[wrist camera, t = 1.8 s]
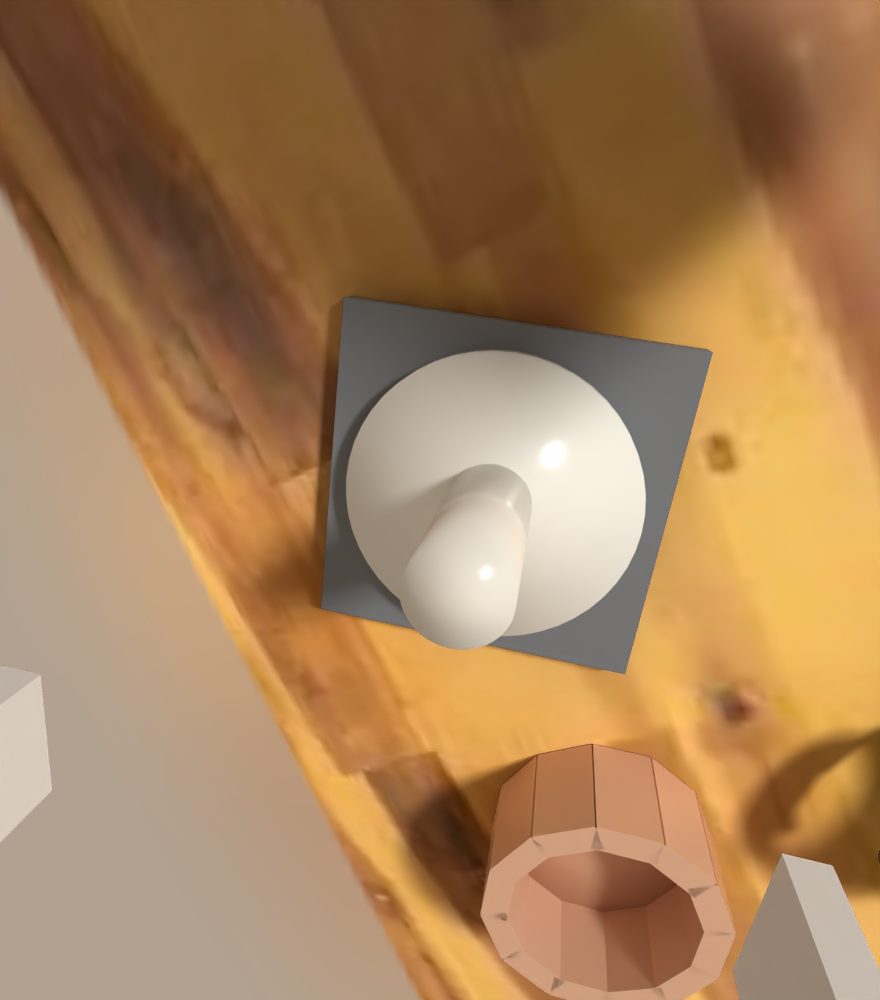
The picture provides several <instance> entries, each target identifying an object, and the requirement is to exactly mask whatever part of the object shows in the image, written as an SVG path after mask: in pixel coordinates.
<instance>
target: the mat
mask: <svg viewBox="0 0 880 1000" xmlns="http://www.w3.org/2000/svg"><path fill="white" fill-rule="evenodd" d="M483 349H504V350H515V351H520V352H525V353H529V354H534V355H538V356H540V357H543V358H546V359H549V360H551V361H554V362H557V363H558V364H560V365H562V366H564V367H566V368H568V369H570V370H572V371H573V372H575V373H577V374H578V375H579V376H581V377H582V378H583V379H585V380H586V381H588V382H589V383H590V384H592V385H593V386H594V387H595V388H596V389H597V390H598V391H599V392H600V393H601V394H602V395H603V396H604V397H605V398H606V399H607V400H608V401H609V402H610V404H611V405H612V406H613V407H614V409H615V410H616V411H617V412H618V414H619V415H620V417H621V419H622V420H623V422H624V424H625V425H626V427H627V429H628V431H629V433H630V435H631V438H632V440H633V442H634V445H635V447H636V450H637V452H638V455H639V459H640V463H641V467H642V470H643V474H644V482H645V492H646V505H645V518H644V523H643V529H642V534H641V537H640V540H639V543H638V546H637V548H636V551H635V553H634V555H633V557H632V559H631V561H630V563H629V565H628V567H627V569H626V570H625V572H624V573H623V575H622V576H621V577H620V579H619V580H618V582H617V583H616V584H615V585H614V586H613V587H612V589H611V590H610V591H609V592H608V593H607V594H606V595H605V596H604V597H603V598H602V599H601V600H599V601H598V602H597V603H596V604H595V605H593V606H592V607H591V608H590V609H588V610H587V611H585V612H583V613H582V614H580V615H579V616H577V617H575V618H574V619H572V620H569V621H567V622H565V623H563V624H561V625H559V626H556V627H553V628H550V629H547V630H544V631H541V632H535V633H530V634H525V635H516V636H500V637H499V638H498V639H496V640H495V641H493V642H491V643H489V644H487V645H492V646H496V647H501V648H506V649H510V650H515V651H519V652H524V653H529V654H533V655H538V656H543V657H547V658H552V659H557V660H561V661H566V662H570V663H575V664H580V665H584V666H589V667H594V668H598V669H603V670H607V671H612V672H617V673H621V674H625V672H626V668H627V665H628V661H629V657H630V654H631V650H632V646H633V643H634V639H635V635H636V632H637V628H638V624H639V621H640V617H641V613H642V610H643V606H644V602H645V599H646V595H647V591H648V588H649V584H650V580H651V577H652V573H653V569H654V566H655V562H656V558H657V555H658V551H659V547H660V544H661V540H662V536H663V533H664V529H665V525H666V522H667V518H668V514H669V511H670V507H671V503H672V500H673V496H674V492H675V489H676V485H677V481H678V478H679V474H680V470H681V467H682V463H683V459H684V456H685V452H686V448H687V445H688V441H689V437H690V434H691V430H692V426H693V423H694V419H695V415H696V412H697V408H698V404H699V401H700V397H701V393H702V390H703V386H704V382H705V379H706V375H707V371H708V368H709V364H710V360H711V357H712V353H713V352H711V351H709V350H708V349H702V348H695V347H688V346H682V345H675V344H668V343H661V342H655V341H648V340H641V339H635V338H628V337H621V336H614V335H608V334H601V333H594V332H588V331H581V330H574V329H567V328H561V327H554V326H547V325H541V324H534V323H527V322H521V321H514V320H507V319H500V318H494V317H487V316H480V315H474V314H467V313H460V312H453V311H447V310H440V309H433V308H427V307H420V306H413V305H406V304H400V303H393V302H386V301H380V300H373V299H366V298H359V297H353V296H350V297H343V311H342V325H341V339H340V353H339V367H338V381H337V395H336V408H335V422H334V436H333V450H332V464H331V478H330V492H329V506H328V520H327V534H326V547H325V561H324V575H323V589H322V603H321V609H325V610H330V611H334V612H339V613H344V614H348V615H353V616H358V617H362V618H367V619H371V620H376V621H381V622H385V623H390V624H395V625H399V626H404V627H408V628H413V629H415V628H414V627H413V626H412V625H411V624H410V622H409V621H408V619H407V617H406V616H405V614H404V611H403V609H402V606H401V602H400V599H399V598H397V597H396V596H395V595H394V594H393V593H392V592H391V591H390V590H389V589H388V588H387V587H386V586H385V585H384V584H383V583H382V582H381V581H380V579H379V578H378V577H377V576H376V574H375V573H374V571H373V570H372V569H371V567H370V566H369V564H368V563H367V561H366V559H365V558H364V556H363V554H362V552H361V550H360V548H359V546H358V544H357V541H356V538H355V536H354V533H353V531H352V527H351V523H350V519H349V515H348V508H347V500H346V476H347V469H348V463H349V458H350V455H351V451H352V448H353V444H354V441H355V439H356V437H357V435H358V433H359V430H360V428H361V426H362V424H363V423H364V421H365V420H366V418H367V416H368V415H369V413H370V412H371V410H372V409H373V408H374V406H375V405H376V404H377V403H378V402H379V401H380V399H381V398H382V397H383V396H384V395H385V394H386V393H387V392H388V391H389V390H390V389H392V388H393V387H394V386H395V385H396V384H397V383H398V382H400V381H401V380H403V379H404V378H406V377H407V376H409V375H410V374H412V373H413V372H415V371H416V370H418V369H419V368H421V367H423V366H425V365H427V364H429V363H431V362H434V361H436V360H438V359H441V358H444V357H447V356H450V355H453V354H456V353H461V352H467V351H472V350H483Z"/></svg>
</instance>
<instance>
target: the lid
mask: <svg viewBox="0 0 880 1000" xmlns="http://www.w3.org/2000/svg"><path fill="white" fill-rule="evenodd" d="M346 500H347V508H348V515H349V519H350V523H351V527H352V531H353V533H354V536H355V538H356V541H357V544H358V546H359V548H360V550H361V552H362V554H363V556H364V558H365V559H366V561H367V563H368V564H369V566H370V567H371V569H372V570H373V571H374V573H375V574H376V576H377V577H378V578H379V579H380V581H381V582H382V583H383V584H384V585H385V586H386V587H387V588H388V589H389V590H390V591H391V592H392V593H393V594H394V595H395V596H396V597H397V598H399V599H400V602H401V606H402V609H403V611H404V614H405V616H406V617H407V619H408V621H409V622H410V624H411V625H412V626H413V627H414V628H415V629H416V630H417V631H418V632H419V633H420V634H421V635H422V636H424V637H425V638H427V639H428V640H430V641H432V642H434V643H436V644H438V645H441V646H444V647H447V648H452V649H463V650H464V649H474V648H479V647H482V646H485V645H487V644H489V643H491V642H493V641H495V640H496V639H498V638H499V637H500V636H516V635H525V634H530V633H535V632H541V631H544V630H547V629H550V628H553V627H556V626H559V625H561V624H563V623H565V622H567V621H569V620H572V619H574V618H575V617H577V616H579V615H580V614H582V613H583V612H585V611H587V610H588V609H590V608H591V607H592V606H593V605H595V604H596V603H597V602H598V601H599V600H601V599H602V598H603V597H604V596H605V595H606V594H607V593H608V592H609V591H610V590H611V589H612V587H613V586H614V585H615V584H616V583H617V582H618V580H619V579H620V577H621V576H622V575H623V573H624V572H625V570H626V569H627V567H628V565H629V563H630V561H631V559H632V557H633V555H634V553H635V551H636V548H637V546H638V543H639V540H640V537H641V534H642V529H643V523H644V518H645V505H646V492H645V482H644V474H643V470H642V467H641V463H640V459H639V455H638V452H637V450H636V447H635V445H634V442H633V440H632V438H631V435H630V433H629V431H628V429H627V427H626V425H625V424H624V422H623V420H622V419H621V417H620V415H619V414H618V412H617V411H616V410H615V409H614V407H613V406H612V405H611V404H610V402H609V401H608V400H607V399H606V398H605V397H604V396H603V395H602V394H601V393H600V392H599V391H598V390H597V389H596V388H595V387H594V386H593V385H592V384H590V383H589V382H588V381H586V380H585V379H583V378H582V377H581V376H579V375H578V374H577V373H575V372H573V371H572V370H570V369H568V368H566V367H564V366H562V365H560V364H558V363H557V362H554V361H551V360H549V359H546V358H543V357H540V356H538V355H534V354H529V353H525V352H520V351H515V350H504V349H483V350H472V351H467V352H461V353H456V354H453V355H450V356H447V357H444V358H441V359H438V360H436V361H434V362H431V363H429V364H427V365H425V366H423V367H421V368H419V369H418V370H416V371H415V372H413V373H412V374H410V375H409V376H407V377H406V378H404V379H403V380H401V381H400V382H398V383H397V384H396V385H395V386H394V387H393V388H392V389H390V390H389V391H388V392H387V393H386V394H385V395H384V396H383V397H382V398H381V399H380V401H379V402H378V403H377V404H376V405H375V406H374V408H373V409H372V410H371V412H370V413H369V415H368V416H367V418H366V420H365V421H364V423H363V424H362V426H361V428H360V430H359V433H358V435H357V437H356V439H355V441H354V444H353V448H352V451H351V455H350V458H349V463H348V469H347V476H346Z"/></svg>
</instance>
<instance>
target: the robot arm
mask: <svg viewBox="0 0 880 1000" xmlns="http://www.w3.org/2000/svg"><path fill="white" fill-rule="evenodd" d="M51 791H52V784H51V774H50V764H49V755H48V744H47V734H46V725H45V715H44V705H43V696H42V686H41V675H40V674H35V673H31V672H27V671H23V670H19V669H15V668H11V667H6V666H2V667H1V668H0V842H1V841H2V840H3V839H4V838H5V837H6V836H7V835H8V834H9V833H10V832H11V831H12V830H13V829H14V828H15V827H16V826H17V825H18V824H19V823H20V822H21V821H22V820H23V819H24V818H25V817H26V816H27V815H28V814H29V813H30V812H31V811H32V810H33V809H34V808H35V807H36V806H37V805H38V804H39V803H40V802H41V801H42V800H43V799H44V798H45V797H46V796H47V795H48V794H49V793H50V792H51ZM733 975H734V979H735V983H736V987H737V992H738V996H739V1000H880V970H879V968H878V966H877V963H876V961H875V959H874V957H873V954H872V952H871V950H870V948H869V946H868V943H867V941H866V939H865V937H864V934H863V932H862V930H861V928H860V925H859V923H858V921H857V919H856V917H855V914H854V912H853V910H852V908H851V905H850V903H849V901H848V899H847V896H846V894H845V892H844V890H843V888H842V885H841V883H840V881H839V879H838V876H837V874H836V872H835V870H834V867H833V866H832V865H828V864H824V863H820V862H816V861H812V860H807V859H803V858H799V857H795V856H791V855H787V854H783V853H782V854H781V857H780V859H779V862H778V864H777V866H776V869H775V871H774V873H773V876H772V878H771V881H770V883H769V885H768V888H767V890H766V893H765V895H764V897H763V900H762V902H761V905H760V907H759V909H758V912H757V914H756V917H755V919H754V921H753V924H752V926H751V928H750V931H749V933H748V936H747V938H746V940H745V943H744V945H743V948H742V950H741V952H740V955H739V957H738V960H737V962H736V964H735V967H734V969H733Z"/></svg>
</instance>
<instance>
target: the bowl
mask: <svg viewBox="0 0 880 1000" xmlns="http://www.w3.org/2000/svg"><path fill="white" fill-rule="evenodd" d="M480 914H481V918H482V920H483V922H484V924H485V926H486V928H487V930H488V932H489V934H490V936H491V938H492V940H493V942H494V944H495V946H496V948H497V950H498V953H499V955H500V957H501V959H503V961H504V962H506V963H507V964H508V965H510V966H511V967H512V968H514V969H515V970H516V971H518V972H519V973H520V974H522V975H523V976H525V977H526V978H527V979H529V980H530V981H531V982H533V983H534V984H535V985H537V986H538V987H539V988H541V989H542V990H543V991H545V992H546V993H547V994H548V993H549V995H552V996H556V997H559V998H563V999H567V1000H683V999H685V998H686V997H688V996H690V995H692V994H693V993H695V992H697V991H698V990H700V989H702V988H704V987H705V986H707V985H709V984H711V983H712V982H714V981H716V980H717V979H718V977H719V975H720V972H721V970H722V967H723V965H724V963H725V960H726V958H727V955H728V953H729V951H730V948H731V946H732V943H733V941H734V939H735V936H736V933H735V929H734V925H733V921H732V917H731V913H730V909H729V904H728V900H727V896H726V892H725V888H724V884H723V880H722V876H721V872H720V868H719V864H718V860H717V856H716V852H715V848H714V844H713V840H712V836H711V833H710V831H709V828H708V825H707V822H706V819H705V817H704V814H703V811H702V808H701V806H700V803H699V800H698V797H697V794H696V793H695V791H693V790H692V789H691V788H689V787H688V786H687V785H686V784H684V783H683V782H682V781H681V780H679V779H678V778H677V777H675V776H674V775H673V774H672V773H670V772H669V771H668V770H667V769H665V768H664V767H663V766H661V765H660V764H659V763H658V762H656V761H655V760H654V759H653V758H652V759H651V758H650V757H647V756H642V755H638V754H634V753H630V752H625V751H621V750H617V749H612V748H608V747H604V746H599V745H595V744H593V746H592V744H589V745H584V746H579V747H574V748H569V749H564V750H559V751H554V752H549V753H544V754H539V755H538V756H535V757H534V758H533V759H532V760H531V761H529V762H528V763H527V764H526V765H525V766H524V767H522V768H521V769H520V770H519V771H518V772H517V773H516V774H514V775H513V776H512V777H511V778H510V779H509V780H507V781H506V782H505V783H504V784H503V785H502V786H501V789H500V794H499V798H498V803H497V808H496V813H495V818H494V823H493V828H492V835H491V842H490V849H489V856H488V863H487V870H486V877H485V884H484V892H483V899H482V906H481V913H480ZM716 978H717V979H716Z"/></svg>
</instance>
